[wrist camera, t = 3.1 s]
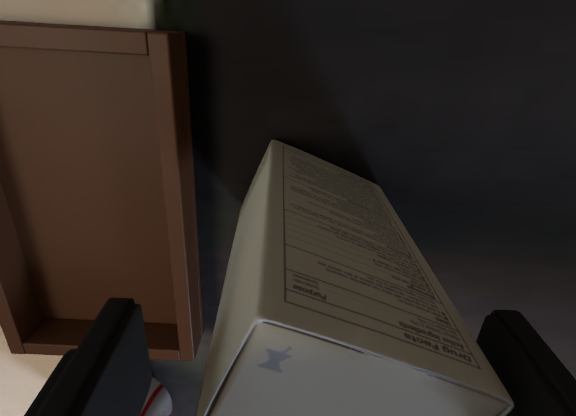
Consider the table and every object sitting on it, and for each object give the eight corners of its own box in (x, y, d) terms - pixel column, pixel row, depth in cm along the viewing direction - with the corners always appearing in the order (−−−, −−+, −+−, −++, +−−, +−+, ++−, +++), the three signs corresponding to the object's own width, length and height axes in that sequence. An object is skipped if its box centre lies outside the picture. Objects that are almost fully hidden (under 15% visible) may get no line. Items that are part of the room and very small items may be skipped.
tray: (185, 31, 16) (168, 33, 13) (203, 328, 23) (194, 361, 21) (-59, 16, 15) (-118, 16, 13) (38, 321, 23) (10, 353, 21)
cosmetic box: (239, 209, 19) (172, 449, 8) (273, 132, 18) (245, 311, 7) (346, 252, 20) (409, 513, 10) (389, 184, 19) (526, 409, 8)
